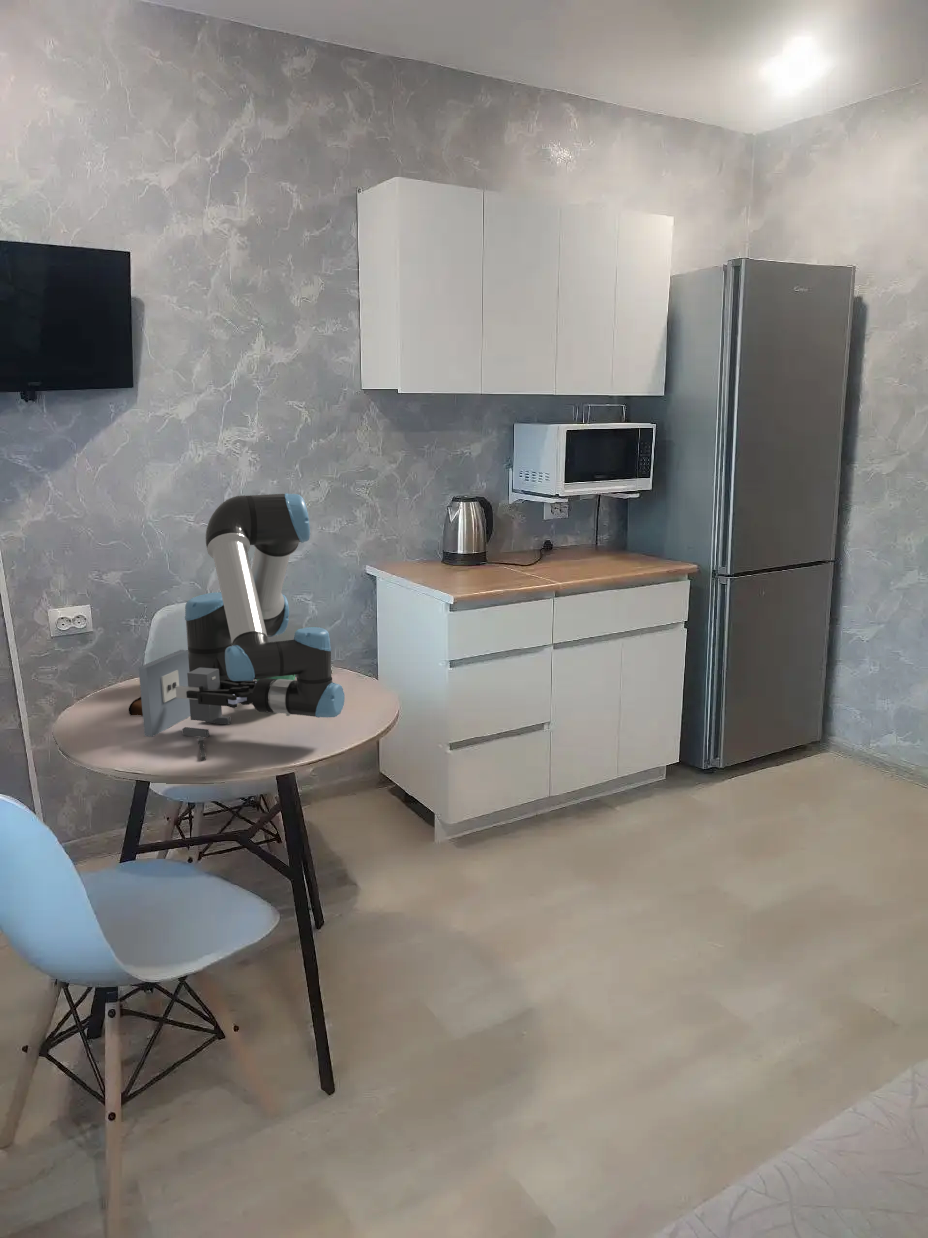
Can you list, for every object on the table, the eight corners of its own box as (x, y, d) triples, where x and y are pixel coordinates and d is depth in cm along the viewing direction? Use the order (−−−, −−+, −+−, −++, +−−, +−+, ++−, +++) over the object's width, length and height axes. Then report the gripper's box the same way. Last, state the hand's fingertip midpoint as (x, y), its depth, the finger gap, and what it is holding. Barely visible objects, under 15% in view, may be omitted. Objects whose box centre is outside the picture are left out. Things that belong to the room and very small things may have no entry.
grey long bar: (198, 741, 200) (197, 737, 200) (203, 740, 200) (203, 736, 200) (200, 760, 189) (200, 756, 188) (206, 760, 189) (206, 755, 189)
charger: (199, 712, 211) (195, 667, 208) (222, 715, 209) (219, 668, 207) (186, 719, 206) (183, 672, 204) (210, 721, 204) (207, 674, 202)
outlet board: (185, 714, 219) (180, 649, 215) (236, 719, 215) (232, 653, 211) (144, 736, 204) (138, 667, 200) (199, 741, 200) (193, 671, 196)
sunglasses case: (162, 715, 217) (147, 692, 216) (139, 729, 218) (123, 706, 217) (190, 693, 235) (175, 672, 234) (168, 706, 236) (153, 685, 235)
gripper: (256, 724, 193) (161, 716, 200) (295, 700, 210) (207, 693, 217) (254, 691, 192) (159, 683, 198) (293, 669, 208) (204, 662, 215)
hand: (184, 688), depth 207 cm, fingers closed on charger, 5 cm apart
